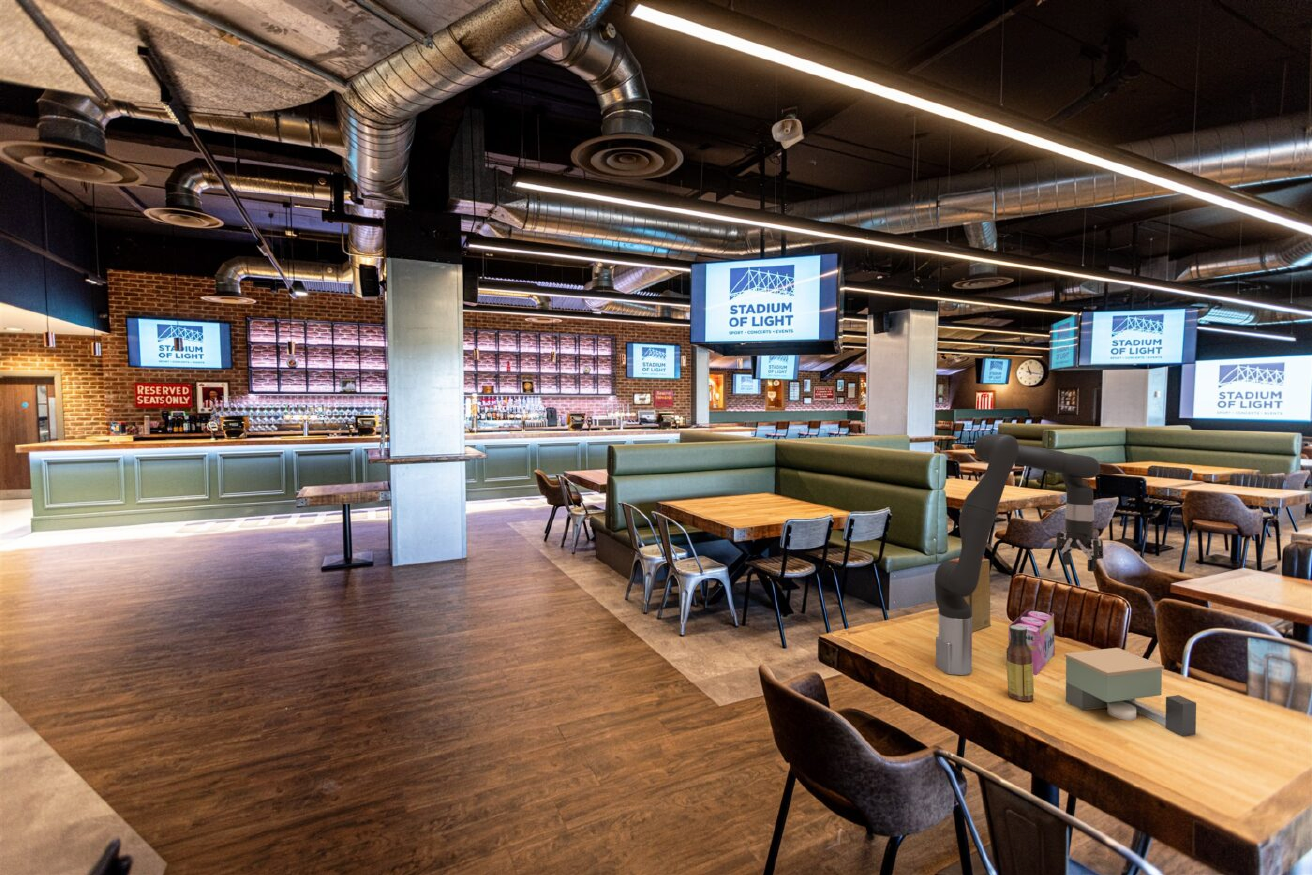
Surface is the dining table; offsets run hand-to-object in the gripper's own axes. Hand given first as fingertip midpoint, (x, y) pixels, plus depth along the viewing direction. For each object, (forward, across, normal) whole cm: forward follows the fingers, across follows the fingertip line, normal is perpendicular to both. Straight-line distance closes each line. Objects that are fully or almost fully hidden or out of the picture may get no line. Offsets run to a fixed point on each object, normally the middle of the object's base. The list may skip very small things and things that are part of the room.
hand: (1078, 567), depth 191 cm
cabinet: (+29, +29, -22) cm, 47 cm away
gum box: (+30, -2, -16) cm, 34 cm away
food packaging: (+30, -33, -12) cm, 46 cm away
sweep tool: (+29, +37, -17) cm, 50 cm away
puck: (+30, +32, -23) cm, 49 cm away
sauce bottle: (+30, +17, -40) cm, 53 cm away
